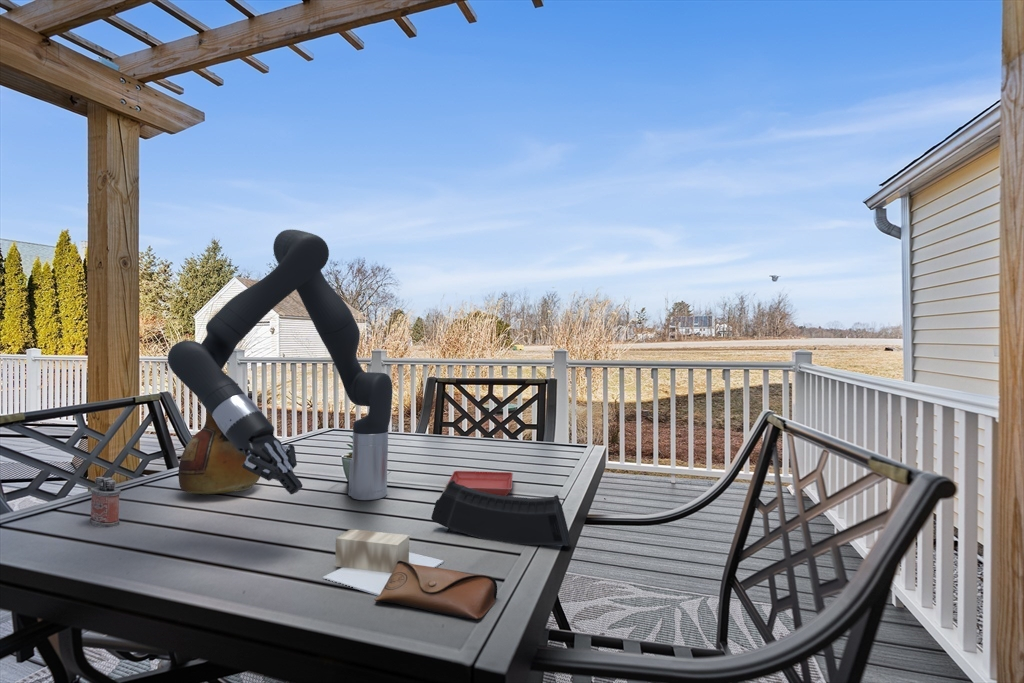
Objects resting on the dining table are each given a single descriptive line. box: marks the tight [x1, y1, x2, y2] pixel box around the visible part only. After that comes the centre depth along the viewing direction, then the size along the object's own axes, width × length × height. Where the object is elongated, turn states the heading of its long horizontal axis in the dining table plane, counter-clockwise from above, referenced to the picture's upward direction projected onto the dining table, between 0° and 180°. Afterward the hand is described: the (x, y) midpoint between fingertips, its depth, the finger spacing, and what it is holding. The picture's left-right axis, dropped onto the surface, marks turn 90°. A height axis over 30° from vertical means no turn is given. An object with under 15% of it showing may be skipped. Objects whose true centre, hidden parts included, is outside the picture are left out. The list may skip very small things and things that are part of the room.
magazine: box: [430, 480, 572, 547], centre depth 108 cm, size 17×3×30 cm
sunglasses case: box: [374, 561, 498, 620], centre depth 81 cm, size 18×7×7 cm
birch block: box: [334, 529, 410, 573], centre depth 94 cm, size 5×5×12 cm
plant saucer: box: [447, 470, 514, 496], centre depth 148 cm, size 18×18×3 cm
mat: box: [322, 551, 445, 597], centre depth 92 cm, size 14×16×1 cm
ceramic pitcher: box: [177, 382, 261, 495], centre depth 139 cm, size 20×20×30 cm
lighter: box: [89, 476, 121, 528], centre depth 113 cm, size 8×3×10 cm, turn 65°
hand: (297, 490), depth 98 cm, fingers closed
